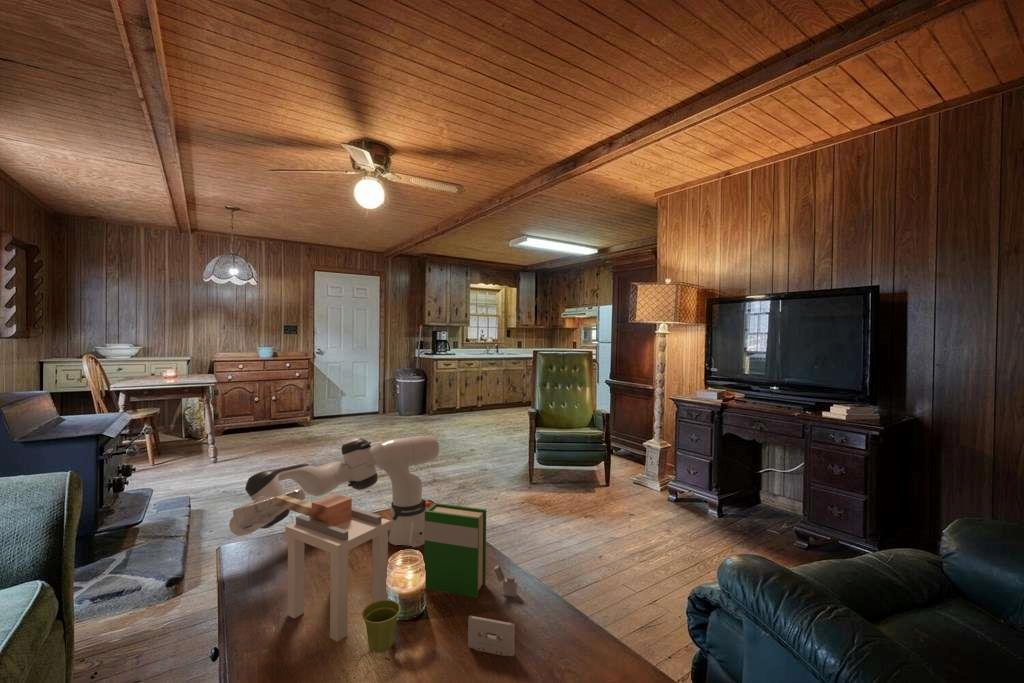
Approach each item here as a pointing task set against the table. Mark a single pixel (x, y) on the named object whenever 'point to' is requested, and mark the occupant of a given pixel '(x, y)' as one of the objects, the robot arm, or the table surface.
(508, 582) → the lighter
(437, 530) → the hardback book
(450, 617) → the table surface
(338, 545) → the stand
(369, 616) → the plant pot
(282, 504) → the mallet
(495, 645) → the cassette
